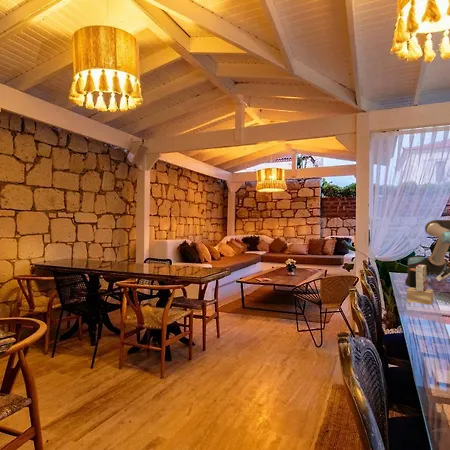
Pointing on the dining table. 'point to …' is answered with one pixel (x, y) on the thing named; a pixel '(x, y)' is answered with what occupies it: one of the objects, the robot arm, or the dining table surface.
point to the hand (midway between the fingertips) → (439, 278)
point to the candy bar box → (421, 278)
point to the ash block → (420, 296)
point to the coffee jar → (412, 278)
